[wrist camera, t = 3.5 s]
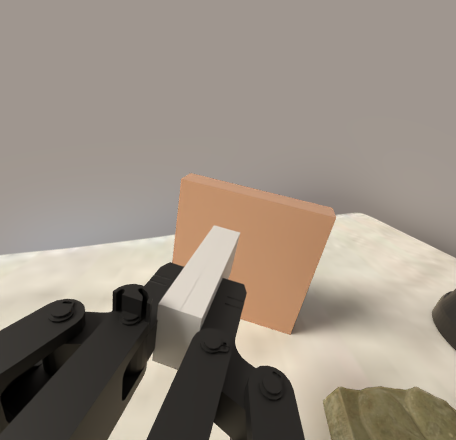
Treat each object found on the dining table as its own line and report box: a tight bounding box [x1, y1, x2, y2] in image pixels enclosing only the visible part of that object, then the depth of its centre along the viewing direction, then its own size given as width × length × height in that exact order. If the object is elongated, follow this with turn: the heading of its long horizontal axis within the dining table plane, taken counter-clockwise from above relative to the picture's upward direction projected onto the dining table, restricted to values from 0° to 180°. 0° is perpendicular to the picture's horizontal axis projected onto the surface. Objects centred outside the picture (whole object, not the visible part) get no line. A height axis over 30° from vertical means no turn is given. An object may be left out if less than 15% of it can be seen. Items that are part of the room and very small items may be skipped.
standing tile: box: [172, 173, 336, 335], centre depth 27 cm, size 14×3×14 cm, turn 77°
